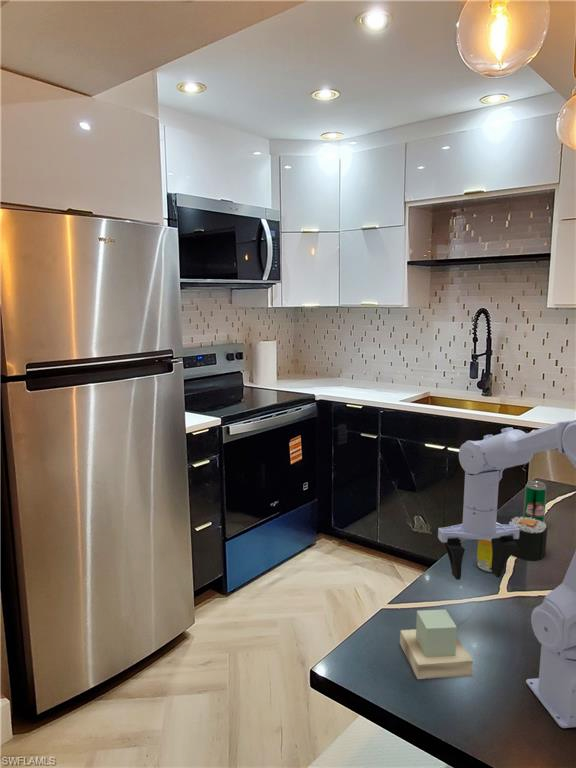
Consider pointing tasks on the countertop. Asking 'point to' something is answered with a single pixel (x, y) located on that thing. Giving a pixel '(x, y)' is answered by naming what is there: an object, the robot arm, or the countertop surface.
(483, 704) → the countertop surface
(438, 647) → the green cube
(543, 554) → the sushi
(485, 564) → the supplement bottle
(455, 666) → the maple block
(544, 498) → the soda can
